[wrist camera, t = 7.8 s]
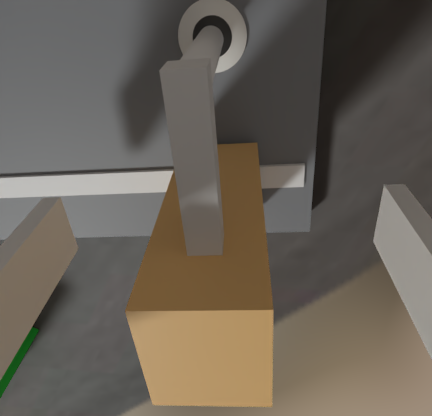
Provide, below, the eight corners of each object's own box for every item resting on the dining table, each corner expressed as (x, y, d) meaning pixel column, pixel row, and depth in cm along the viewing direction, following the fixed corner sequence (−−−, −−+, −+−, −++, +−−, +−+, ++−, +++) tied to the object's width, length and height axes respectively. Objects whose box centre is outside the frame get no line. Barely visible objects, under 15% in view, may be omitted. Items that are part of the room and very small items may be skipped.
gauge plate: (-164, -15, 16) (-253, -13, 13) (323, -62, 14) (344, -71, 11) (-35, 226, 23) (-75, 263, 20) (305, 216, 21) (316, 255, 18)
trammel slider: (166, 28, 15) (62, 102, 6) (255, 21, 14) (275, 88, 6) (191, 217, 19) (153, 405, 11) (258, 215, 19) (272, 406, 11)
